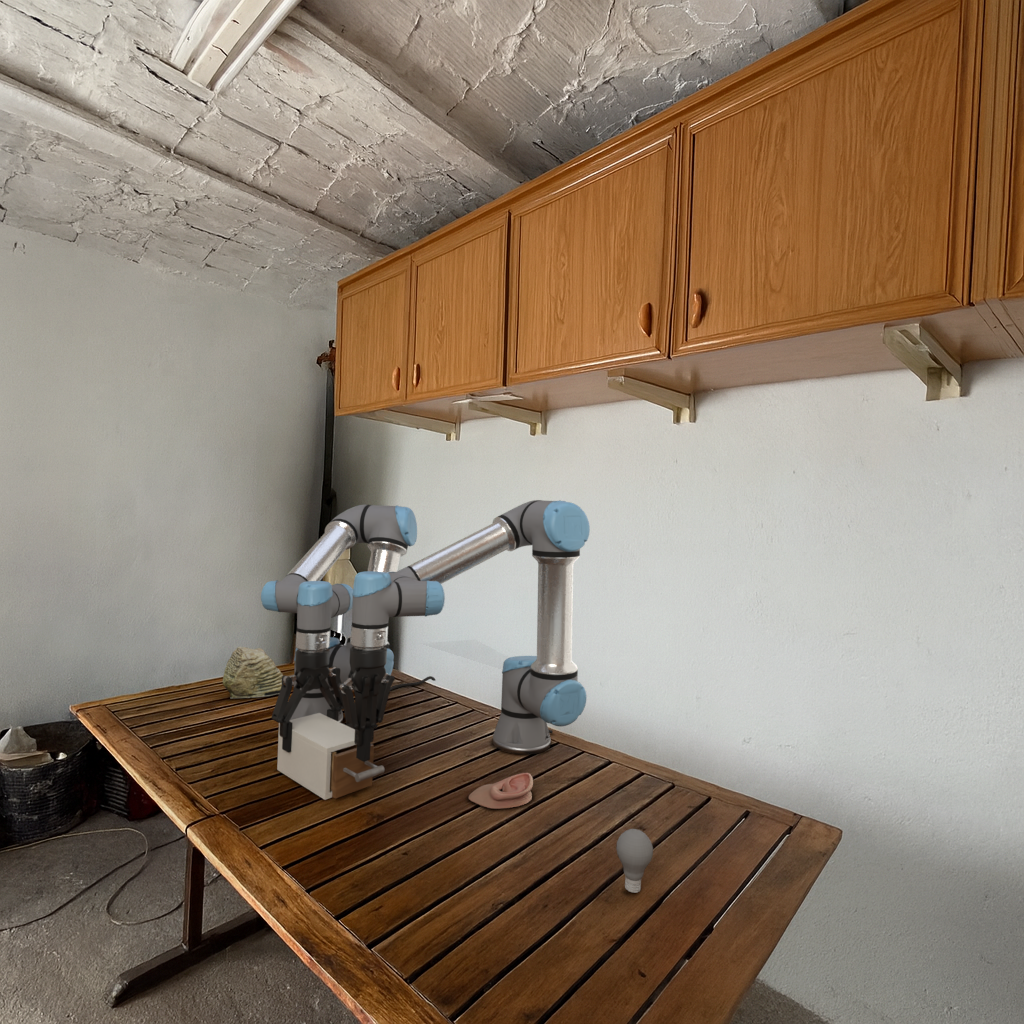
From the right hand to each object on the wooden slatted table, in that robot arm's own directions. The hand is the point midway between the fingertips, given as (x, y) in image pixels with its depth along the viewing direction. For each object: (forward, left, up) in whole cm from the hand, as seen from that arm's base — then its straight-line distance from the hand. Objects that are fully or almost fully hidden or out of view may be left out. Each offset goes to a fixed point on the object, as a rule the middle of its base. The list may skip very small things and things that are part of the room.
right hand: (363, 758), depth 132 cm
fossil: (+12, -81, -9) cm, 83 cm away
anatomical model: (-28, +10, -9) cm, 31 cm away
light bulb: (-33, +48, -9) cm, 59 cm away
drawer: (+3, -9, -8) cm, 12 cm away
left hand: (+7, -20, -3) cm, 21 cm away
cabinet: (+5, -15, -9) cm, 18 cm away
